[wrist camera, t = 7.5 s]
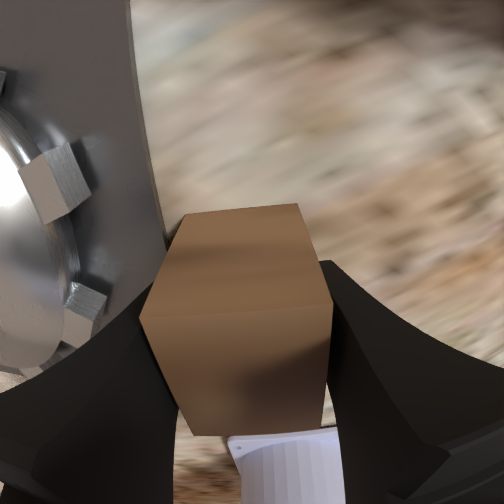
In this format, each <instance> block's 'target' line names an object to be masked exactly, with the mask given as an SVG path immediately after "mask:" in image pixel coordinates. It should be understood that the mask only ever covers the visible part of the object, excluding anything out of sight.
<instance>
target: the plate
mask: <svg viewBox="0 0 504 504" xmlns="http://www.w3.org/2000/svg"><path fill="white" fill-rule="evenodd" d="M0 71H3V72H7V73H6V76H5V79H4V83H3V87H2V90H1V94H0V106H1V107H2V108H4V109H5V110H6V111H8V112H9V113H10V114H11V115H12V116H13V117H14V118H15V119H16V120H17V121H18V122H19V123H20V124H21V125H22V126H23V127H24V129H25V130H26V131H27V133H28V134H29V135H30V136H31V138H32V139H33V140H34V142H35V143H36V145H37V147H38V148H39V150H40V151H41V153H44V152H46V151H48V150H51V149H53V148H56V147H58V146H61V145H63V144H66V143H68V142H69V144H70V147H71V149H72V151H73V154H74V156H75V159H76V161H77V163H78V166H79V168H80V170H81V172H82V175H83V177H84V179H85V181H86V184H87V186H88V188H89V190H90V192H91V196H89V197H88V198H87V199H85V200H84V201H83V202H82V203H80V204H79V205H78V206H77V207H75V208H74V209H73V210H72V211H71V212H69V217H70V220H71V223H72V226H73V231H74V235H75V239H76V243H77V248H78V256H79V263H80V281H81V284H83V285H85V286H87V287H89V288H91V289H93V290H95V291H97V292H99V293H101V294H104V295H106V296H107V300H106V304H105V308H104V312H103V317H102V321H101V326H100V329H99V331H100V330H102V329H103V328H104V327H105V326H106V325H107V324H108V323H109V322H111V321H112V320H113V319H114V318H115V317H116V316H117V315H119V314H120V313H121V312H122V311H123V310H124V309H125V308H126V307H127V306H128V305H129V304H130V303H131V302H132V301H133V300H134V299H135V298H136V297H138V296H139V295H140V294H141V293H142V292H143V291H144V290H145V289H146V288H147V287H148V286H149V285H150V284H151V283H152V282H153V281H154V280H155V279H156V277H157V274H158V272H159V270H160V268H161V265H162V263H163V261H164V259H165V257H166V254H167V252H168V250H169V248H170V246H169V242H168V238H167V234H166V230H165V225H164V221H163V216H162V212H161V207H160V203H159V198H158V193H157V189H156V184H155V179H154V174H153V169H152V164H151V158H150V153H149V147H148V142H147V136H146V130H145V124H144V118H143V112H142V106H141V99H140V92H139V85H138V77H137V70H136V62H135V53H134V44H133V34H132V24H131V12H130V0H0ZM99 331H98V332H99ZM77 349H78V348H76V347H74V346H72V345H70V344H68V343H66V342H64V341H62V340H61V342H60V343H59V345H58V347H57V349H56V352H57V353H58V354H59V355H60V356H61V358H62V359H64V358H65V357H67V356H68V355H70V354H71V353H73V352H74V351H75V350H77ZM0 371H3V372H8V373H13V374H18V375H23V376H25V375H24V374H23V373H22V372H21V371H20V370H19V369H18V368H12V367H7V366H3V365H0Z"/></svg>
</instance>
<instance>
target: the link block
mask: <svg viewBox="0 0 504 504" xmlns="http://www.w3.org/2000/svg"><path fill="white" fill-rule="evenodd" d="M332 314H333V301H332V298H331V295H330V292H329V290H328V287H327V284H326V281H325V278H324V275H323V272H322V269H321V267H320V264H319V261H318V258H317V255H316V253H315V250H314V247H313V244H312V242H311V239H310V236H309V233H308V231H307V228H306V225H305V223H304V220H303V217H302V215H301V212H300V210H299V207H298V204H297V203H295V204H283V205H271V206H260V207H250V208H239V209H230V210H220V211H211V212H202V213H193V214H185V216H184V218H183V221H182V223H181V225H180V227H179V229H178V231H177V233H176V235H175V237H174V239H173V242H172V244H171V246H170V248H169V250H168V252H167V254H166V257H165V259H164V261H163V263H162V265H161V268H160V270H159V272H158V274H157V277H156V279H155V281H154V283H153V286H152V288H151V290H150V293H149V295H148V297H147V300H146V302H145V304H144V307H143V309H142V311H141V314H140V316H139V319H140V321H141V324H142V326H143V329H144V331H145V334H146V336H147V339H148V341H149V343H150V346H151V348H152V350H153V353H154V355H155V357H156V360H157V362H158V364H159V366H160V369H161V371H162V373H163V375H164V377H165V380H166V382H167V384H168V386H169V388H170V390H171V392H172V394H173V396H174V398H175V400H176V402H177V404H178V406H179V408H180V410H181V412H182V414H183V416H184V418H185V420H186V422H187V424H188V426H189V428H190V430H191V432H192V433H193V435H194V436H245V435H265V434H279V433H291V432H300V431H309V430H317V429H320V428H321V421H322V414H323V406H324V398H325V390H326V381H327V372H328V362H329V351H330V340H331V328H332Z"/></svg>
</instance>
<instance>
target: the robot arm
mask: <svg viewBox="0 0 504 504" xmlns="http://www.w3.org/2000/svg"><path fill="white" fill-rule="evenodd" d="M319 264H320V267H321V269H322V272H323V275H324V278H325V281H326V284H327V287H328V290H329V292H330V295H331V298H332V301H333V314H332V328H331V340H330V351H329V362H328V372H327V381H326V382H327V385H328V389H329V392H330V396H331V399H332V403H333V408H334V412H335V417H336V424H337V427H331V428H324V429H317V430H309V431H300V432H291V433H279V434H265V435H245V436H231V437H229V438H228V440H227V445H228V447H229V450H230V452H231V455H232V457H233V459H234V462H235V464H236V467H237V469H238V471H239V474H240V476H241V504H504V368H501V367H498V366H495V365H492V364H490V363H487V362H484V361H482V360H479V359H477V358H474V357H472V356H469V355H467V354H465V353H463V352H461V351H458V350H456V349H454V348H452V347H450V346H448V345H446V344H444V343H442V342H440V341H438V340H436V339H435V338H433V337H431V336H429V335H428V334H426V333H424V332H422V331H421V330H419V329H418V328H416V327H414V326H413V325H411V324H410V323H408V322H406V321H405V320H403V319H402V318H400V317H399V316H398V315H396V314H395V313H393V312H392V311H391V310H389V309H388V308H387V307H385V306H384V305H383V304H381V303H380V302H379V301H377V300H376V299H375V298H374V297H372V296H371V295H370V294H369V293H368V292H366V291H365V290H364V289H363V288H362V287H360V286H359V285H358V284H357V283H356V282H355V281H354V280H353V279H351V278H350V277H349V276H348V275H347V274H346V273H345V272H344V271H343V270H342V269H340V268H339V267H338V266H337V265H336V264H335V263H334V262H333V261H332V260H325V261H319ZM154 281H155V280H154ZM154 281H153V282H152V283H151V284H150V285H149V286H148V287H147V288H146V289H145V290H144V291H143V292H142V293H141V294H140V295H139V296H138V297H136V298H135V299H134V300H133V301H132V302H131V303H130V304H129V305H128V306H127V307H126V308H125V309H124V310H123V311H122V312H121V313H120V314H119V315H117V316H116V317H115V318H114V319H113V320H112V321H111V322H109V323H108V324H107V325H106V326H105V327H104V328H103V329H102V330H100V331H99V332H98V333H97V334H96V335H95V336H93V337H92V338H91V339H90V340H88V341H87V342H86V343H85V344H83V345H82V346H81V347H79V348H78V349H77V350H75V351H74V352H73V353H71V354H70V355H68V356H67V357H65V358H64V359H62V360H61V361H59V362H57V363H56V364H54V365H53V366H51V367H50V368H48V369H46V370H45V371H43V372H42V373H40V374H38V375H36V376H35V377H33V378H31V379H29V380H27V381H25V382H23V383H21V384H19V385H17V386H15V387H13V388H11V389H9V390H7V391H5V392H2V393H0V481H1V482H2V483H4V486H3V490H2V492H1V493H0V504H173V465H174V445H175V432H176V422H177V416H178V410H179V406H178V404H177V402H176V400H175V398H174V396H173V394H172V392H171V390H170V388H169V386H168V384H167V382H166V380H165V377H164V375H163V373H162V371H161V369H160V366H159V364H158V362H157V360H156V357H155V355H154V353H153V350H152V348H151V346H150V343H149V341H148V339H147V336H146V334H145V331H144V329H143V326H142V324H141V321H140V319H139V316H140V314H141V311H142V309H143V307H144V304H145V302H146V300H147V297H148V295H149V293H150V290H151V288H152V286H153V283H154Z"/></svg>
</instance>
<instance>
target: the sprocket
mask: <svg viewBox="0 0 504 504" xmlns="http://www.w3.org/2000/svg"><path fill="white" fill-rule="evenodd" d="M6 73H7V72H3V71H0V94H1V90H2V87H3V83H4V79H5V76H6ZM89 196H91V192H90V190H89V188H88V186H87V184H86V181H85V179H84V177H83V175H82V172H81V170H80V168H79V166H78V163H77V161H76V159H75V156H74V154H73V151H72V149H71V147H70V144H69V142H68V143H66V144H63V145H61V146H58V147H56V148H53V149H51V150H48V151H46V152H44V153H41V151H40V150H39V148H38V147H37V145H36V143H35V142H34V140H33V139H32V138H31V136H30V135H29V134H28V133H27V131H26V130H25V129H24V127H23V126H22V125H21V124H20V123H19V122H18V121H17V120H16V119H15V118H14V117H13V116H12V115H11V114H10V113H9V112H8V111H6V110H5V109H4V108H2V107H1V106H0V365H3V366H7V367H12V368H18V369H19V370H20V371H21V372H22V373H23V374H24V375H25V376H26V378H27V379H28V380H29V379H31V378H33V377H35V376H36V375H38V374H40V373H42V372H43V371H45V370H46V369H48V368H50V367H51V366H53V365H54V364H56V363H57V362H59V361H61V360H62V358H61V356H60V355H59V354H58V353H57V352H56V349H57V347H58V345H59V343H60V342H61V340H62V341H64V342H66V343H68V344H70V345H72V346H74V347H76V348H79V347H81V346H82V345H83V344H85V343H86V342H87V341H88V340H90V339H91V338H92V337H93V336H95V335H96V334H97V333H98V331H99V329H100V326H101V321H102V317H103V312H104V308H105V304H106V300H107V296H106V295H104V294H101V293H99V292H97V291H95V290H93V289H91V288H89V287H87V286H85V285H83V284H81V281H80V263H79V256H78V248H77V243H76V239H75V235H74V231H73V226H72V223H71V220H70V217H69V212H71V211H72V210H73V209H74V208H75V207H77V206H78V205H79V204H80V203H82V202H83V201H84V200H85V199H87V198H88V197H89Z"/></svg>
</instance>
